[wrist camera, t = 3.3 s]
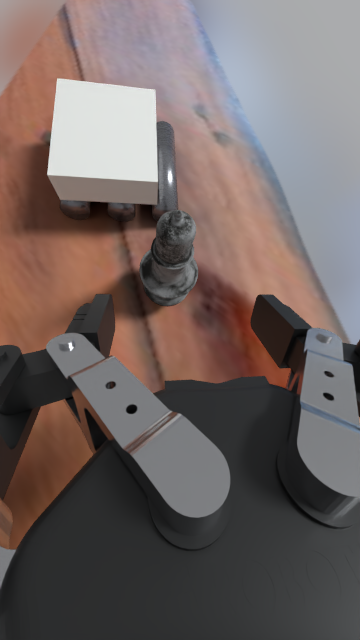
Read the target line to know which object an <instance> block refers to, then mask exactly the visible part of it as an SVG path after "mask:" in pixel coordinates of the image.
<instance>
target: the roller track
mask: <svg viewBox="0 0 360 640" xmlns="http://www.w3.org/2000/svg"><path fill="white" fill-rule="evenodd" d="M156 130H157V165H158V196H157V205H154V204H152V213H153V218H154V219H155V220H156V221H159V219H160V217H161V216H162V215H163V214H165V213H166V212H169V211H172V210H178V198H177V179H176V160H175V140H174V130H173V128H172V126H171V125H170V124H169V123H167V122H164V121H160V122H157V123H156ZM90 202H91V201H75V200H60V209H61V211H62V212H63V213H64V214H65V215H66V216H68V217H70V218H73V219H77V220H83V219H86V218H88V217H89V215H90ZM108 214H109V215H110V216H111V217H112V218H113V219H115V220H118V221H130V220H132V219H133V218H134V216H135V204H134V203H114V202H108Z"/></svg>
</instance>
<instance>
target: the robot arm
mask: <svg viewBox="0 0 360 640" xmlns="http://www.w3.org/2000/svg"><path fill="white" fill-rule="evenodd" d="M251 327H252V330H253V331H254V332H255V334H256V335H257V337H258V338H259V340H260V341H261V343H262V344H263V345H264V347H265V348H266V350H267V351H268V353H269V354H270V355H271V357H272V358H273V360H274V361H275V363H276V364H277V365H278V367H279V368H291V371H290V373H289V376H288V380H287V385H286V389H285V388H283V387H280V386H276V385H272V384H269V382H268V381H267V379H266V377H265V376H258V377H241V378H237V379H234V380H230V381H227V382H223V383H219V384H215V383H209V382H202V381H195V380H176V381H165V389H164V390H160V391H158V392H155V393H152V392H150V391H149V390H148V389H147V388H146V387H145V386H144V385H143V384H142V383H141V382H140V381H139V380H138V379H137V378H136V377H135V376H134V375H133V374H132V373H131V372H130V371H129V370H128V369H127V368H126V367H125V366H124V365H123V364H122V363H121V362H120V361H119V360H118V359H117V358H116V357H114V356H109V354H110V349H111V345H112V341H113V336H114V332H115V317H114V308H113V300H112V295H111V294H96V295H95V298H94V300H93V302H92V303H86V304H84V305H83V306H81V307H80V308H79V309H78V311H77V312H76V315H75V316H74V318H73V320H72V321H71V323H70V325H69V327H68V329H67V330H66V332H65V334H62V335H59V336H57V337H55V338H53V339H52V340H50V341H49V342H48V344H47V346H46V349H44V350H41V351H36V352H32V353H27V354H22V352H21V350H20V348H19V347H17V346H14V345H3V346H0V640H360V423H359V417H360V340H359V342H358V343H357V345H353V344H347V343H342V340H341V338H340V337H339V336H337V335H336V334H334V333H332V332H330V331H328V330H325V329H321V328H312V327H311V326H310V325H309V324H308V323H306V322H305V321H304V320H303V319H302V318H301V317H300V316H299V315H298V314H296V313H295V312H294V311H293V310H292V309H291V308H290V307H288V306H286V305H284V304H283V303H281V302H280V301H279V300H278V299H277V298H276V297H275V296H274V295H258V296H257V298H256V301H255V305H254V309H253V313H252V317H251ZM60 400H63V401H64V402H65V404H66V406H67V407H68V409H69V410H70V412H71V414H72V415H73V417H74V419H75V420H76V422H77V423H78V425H79V427H80V428H81V430H82V432H83V434H84V436H85V438H86V441H87V443H88V445H89V447H90V449H91V451H92V453H93V454H94V455H93V456H92V457H91V458H90V459H89V460H88V462H87V463H86V464H85V465H84V466H83V467H82V468H81V470H80V471H79V472H78V473H77V474H76V475H75V476H74V478H73V479H72V480H71V481H70V482H69V483H68V484H67V486H66V487H65V488H64V489H63V490H62V491H61V492H60V493H59V495H58V496H57V497H56V498H55V499H54V500H53V501H52V503H51V504H50V505H49V506H48V507H47V508H46V509H45V511H44V512H43V513H42V514H41V515H40V516H39V517H38V519H37V520H36V521H35V522H34V523H33V525H32V526H31V527H30V529H29V530H28V531H27V533H26V534H25V536H24V537H23V539H22V541H21V542H20V544H19V546H18V547H17V549H16V550H10V546H9V540H10V534H11V529H12V524H13V517H12V513H11V511H10V509H9V508H8V507H7V505H6V504H5V503H4V502H3V498H4V496H5V493H6V491H7V489H8V486H9V484H10V481H11V479H12V476H13V474H14V471H15V469H16V466H17V464H18V461H19V459H20V457H21V454H22V452H23V449H24V447H25V444H26V442H27V439H28V437H29V434H30V432H31V429H32V427H33V425H34V422H35V420H36V417H37V415H38V412H39V410H40V407H41V406H43V405H47V404H50V403H53V402H56V401H60Z"/></svg>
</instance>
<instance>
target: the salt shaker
mask: <svg viewBox="0 0 360 640" xmlns="http://www.w3.org/2000/svg"><path fill="white" fill-rule="evenodd" d="M195 234H196V226H195V222H194V220H193V219H192V217H191V216H190V215H189V214H187V213H186V212H183V211H181V210H172V211H169V212H166V213H165V214H163V215H162V216H161V217H160V219H159V221H158V223H157V228H156V238H155V239H154V240H153V243H152V245H151V249H150V250H149V251H148V252H147V253H146V254H145V255H144V256H143V258H142V260H141V263H140V270H139V272H140V277H141V280H142V282H143V284H144V289H145V292H146V294H147V296H148V297H149V298H150V299H151V300H152V301H153V302H155V303H157V304H159V305H162V306H172V305H176V304H178V303H180V302H181V301H182V300H183V299H184V298H185V297H186V296H187V294H188V292H189V291H190V290H192V288H193V287H194V285H195V284H196V281H197V278H198V268H197V264H196V261H195V260H194V258H193V255H194V247H193V241H194V237H195Z"/></svg>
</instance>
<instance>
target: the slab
mask: <svg viewBox="0 0 360 640" xmlns="http://www.w3.org/2000/svg"><path fill="white" fill-rule="evenodd" d="M47 176H48V178H49V179H50V181H51V183H52V185H53V187H54V189H55V191H56V193H57V195H58V197H59V198H60V200H75V201H95V202H114V203H134V204H154V205H157V196H158V165H157V130H156V96H155V90H152V89H143V88H135V87H126V86H118V85H109V84H101V83H92V82H84V81H75V80H67V79H59V78H57V87H56V96H55V106H54V115H53V124H52V134H51V143H50V153H49V162H48V171H47Z"/></svg>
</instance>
